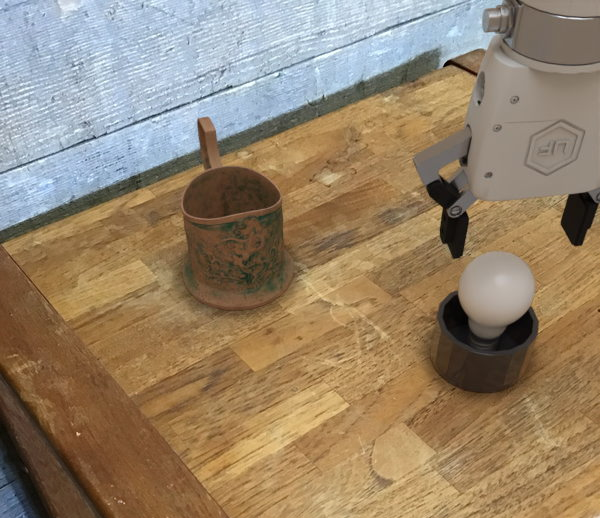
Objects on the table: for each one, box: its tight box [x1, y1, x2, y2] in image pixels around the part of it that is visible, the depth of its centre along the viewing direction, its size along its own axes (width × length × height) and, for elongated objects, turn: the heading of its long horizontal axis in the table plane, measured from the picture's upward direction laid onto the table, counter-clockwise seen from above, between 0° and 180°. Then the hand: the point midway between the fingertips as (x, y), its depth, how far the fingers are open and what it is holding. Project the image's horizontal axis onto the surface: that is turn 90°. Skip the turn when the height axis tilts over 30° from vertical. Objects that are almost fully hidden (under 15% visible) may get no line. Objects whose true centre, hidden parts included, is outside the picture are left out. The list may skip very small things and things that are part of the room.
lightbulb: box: [457, 250, 536, 352], centre depth 64 cm, size 6×6×11 cm
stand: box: [430, 289, 540, 394], centre depth 67 cm, size 9×9×5 cm
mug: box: [180, 116, 295, 311], centre depth 74 cm, size 12×18×12 cm, turn 18°
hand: (511, 241), depth 59 cm, fingers open, 9 cm apart
